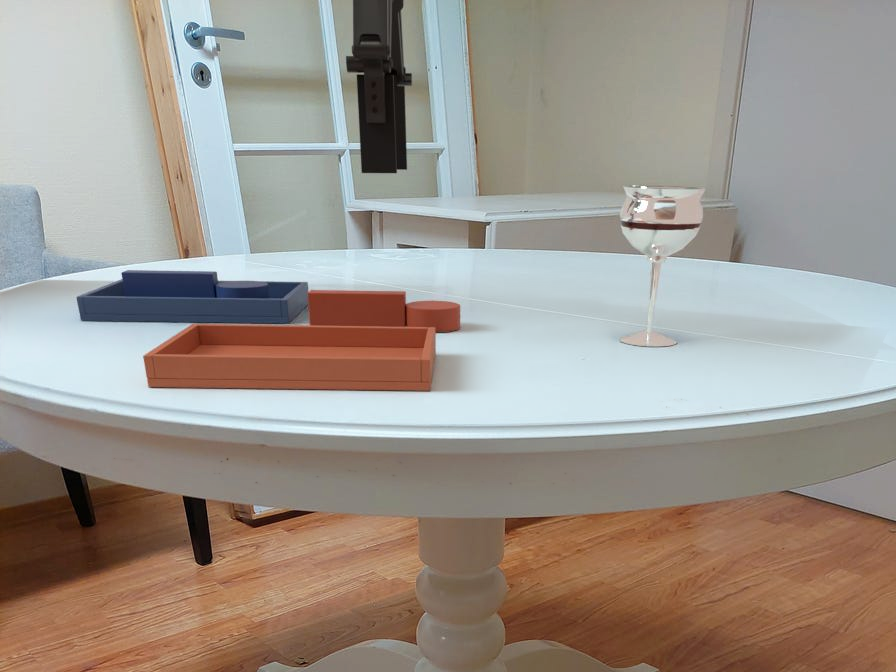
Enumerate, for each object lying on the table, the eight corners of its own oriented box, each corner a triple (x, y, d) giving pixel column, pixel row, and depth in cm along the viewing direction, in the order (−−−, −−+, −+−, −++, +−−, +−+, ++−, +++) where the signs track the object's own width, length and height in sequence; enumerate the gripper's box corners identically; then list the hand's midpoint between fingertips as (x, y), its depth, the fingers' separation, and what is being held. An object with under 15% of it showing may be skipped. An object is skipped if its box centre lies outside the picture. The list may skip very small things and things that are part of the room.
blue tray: (80, 320, 82) (75, 296, 81) (125, 300, 92) (121, 279, 91) (289, 323, 82) (287, 299, 81) (309, 303, 93) (307, 281, 92)
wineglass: (695, 338, 79) (715, 187, 73) (675, 351, 74) (695, 190, 68) (623, 331, 82) (636, 184, 76) (598, 343, 76) (610, 187, 70)
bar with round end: (307, 330, 79) (304, 295, 78) (315, 321, 84) (313, 287, 82) (460, 333, 79) (460, 297, 78) (460, 323, 84) (460, 289, 82)
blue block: (120, 308, 85) (115, 274, 83) (137, 300, 89) (132, 267, 88) (264, 310, 85) (261, 276, 83) (274, 302, 89) (271, 270, 88)
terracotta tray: (148, 387, 60) (142, 355, 59) (195, 351, 71) (192, 323, 70) (430, 391, 61) (429, 359, 60) (435, 354, 71) (435, 327, 70)
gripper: (416, -217, 54) (424, 175, 64) (430, -112, 76) (435, 168, 86) (293, -218, 54) (321, 174, 64) (342, -113, 76) (357, 168, 86)
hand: (386, 171), depth 75 cm, fingers open, 13 cm apart
